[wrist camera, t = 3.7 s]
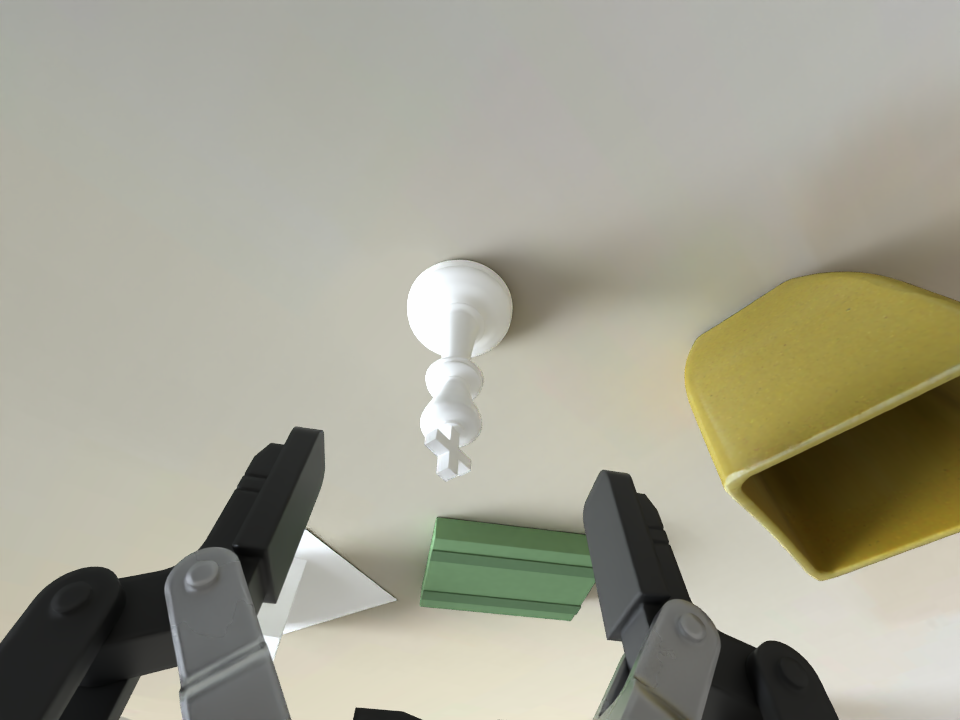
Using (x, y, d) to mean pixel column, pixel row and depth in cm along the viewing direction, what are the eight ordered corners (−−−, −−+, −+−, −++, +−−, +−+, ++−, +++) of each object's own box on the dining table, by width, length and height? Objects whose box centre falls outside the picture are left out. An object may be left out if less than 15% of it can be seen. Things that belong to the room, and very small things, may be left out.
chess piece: (470, 237, 19) (462, 379, 11) (532, 318, 21) (564, 487, 13) (385, 298, 21) (323, 461, 12) (451, 367, 23) (435, 544, 15)
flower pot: (886, 344, 22) (1090, 492, 15) (721, 432, 26) (819, 588, 18) (820, 215, 18) (1047, 325, 11) (638, 338, 22) (718, 485, 15)
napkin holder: (265, 640, 41) (236, 718, 36) (158, 583, 35) (108, 666, 30) (398, 599, 36) (386, 681, 32) (301, 526, 31) (269, 612, 26)
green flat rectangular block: (421, 585, 35) (419, 607, 34) (436, 516, 30) (434, 539, 29) (567, 600, 36) (571, 622, 35) (605, 536, 31) (611, 559, 30)
